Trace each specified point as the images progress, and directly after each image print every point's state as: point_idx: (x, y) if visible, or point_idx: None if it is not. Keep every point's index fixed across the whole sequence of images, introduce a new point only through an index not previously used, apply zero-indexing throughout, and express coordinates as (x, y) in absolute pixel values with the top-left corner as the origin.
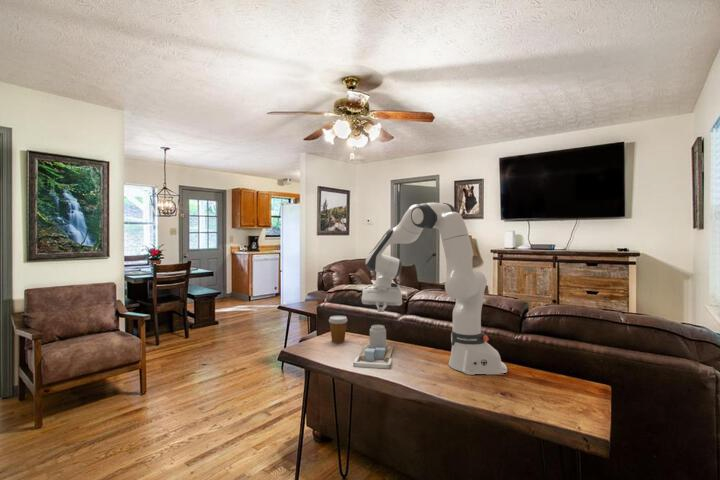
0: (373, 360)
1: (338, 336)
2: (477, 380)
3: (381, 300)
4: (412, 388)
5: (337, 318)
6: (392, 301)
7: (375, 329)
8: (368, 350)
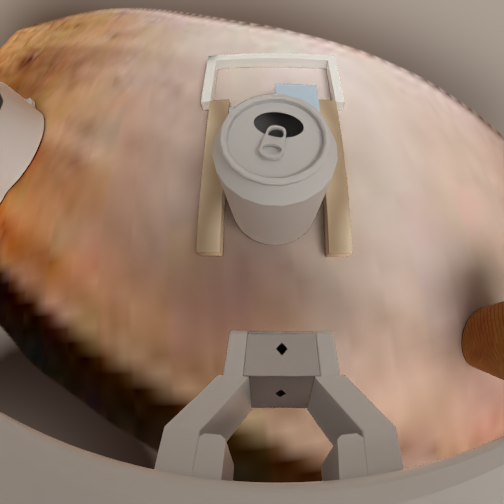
0: None
1: (496, 304)
2: (32, 85)
3: (274, 497)
4: (164, 11)
5: None
6: (27, 428)
7: (285, 102)
8: (301, 93)
